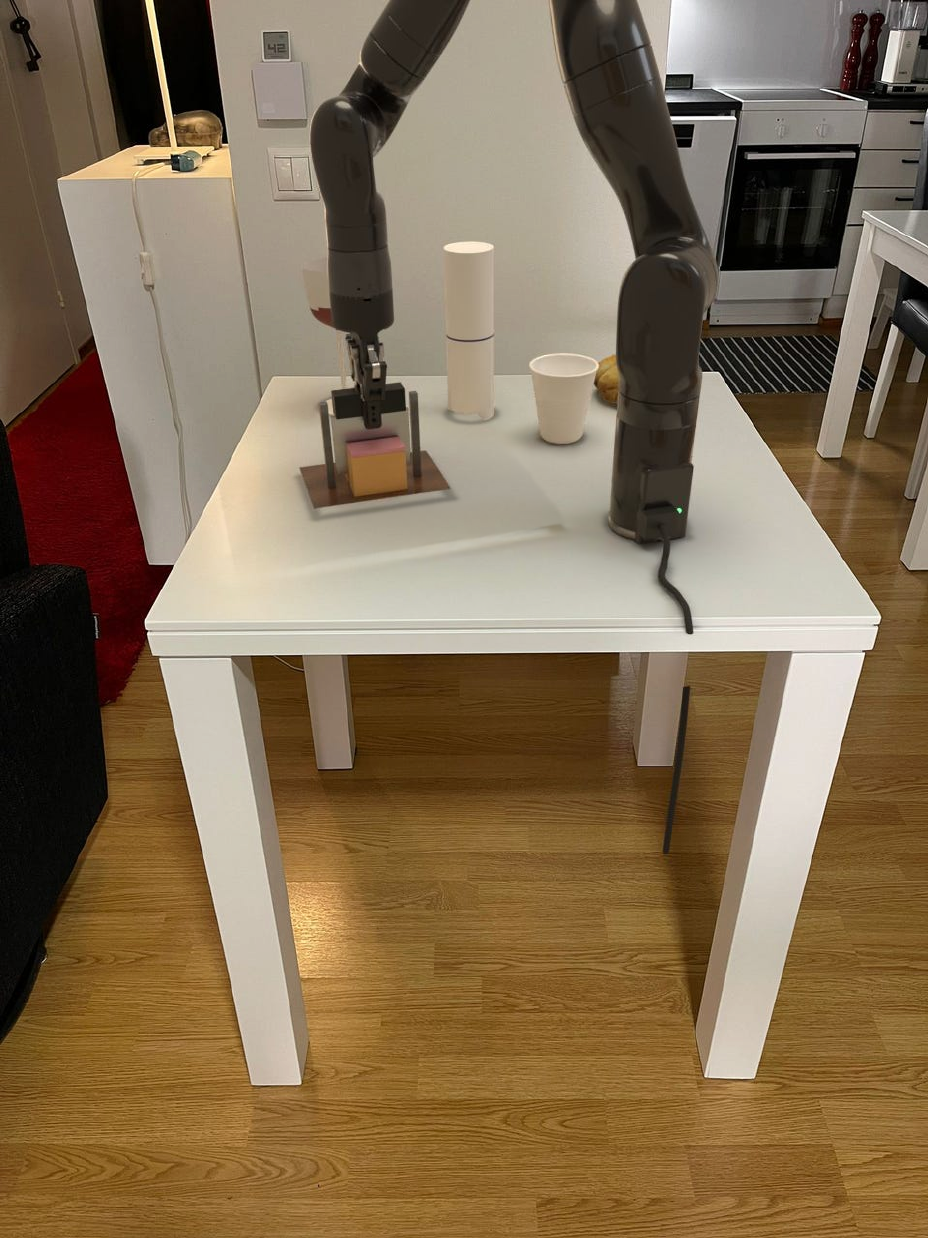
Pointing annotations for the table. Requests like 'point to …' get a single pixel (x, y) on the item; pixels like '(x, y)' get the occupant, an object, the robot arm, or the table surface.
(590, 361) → the cup
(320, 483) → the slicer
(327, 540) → the table surface
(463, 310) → the cylindrical container
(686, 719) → the robot arm
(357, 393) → the black handled scraper
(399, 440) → the cake
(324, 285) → the wineglass
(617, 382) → the bread roll
